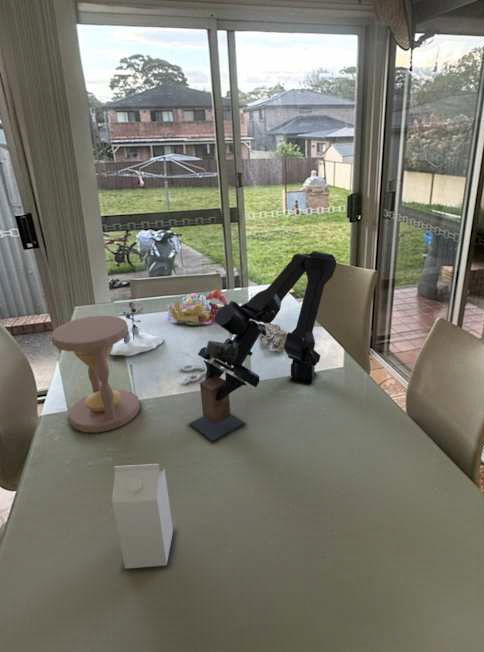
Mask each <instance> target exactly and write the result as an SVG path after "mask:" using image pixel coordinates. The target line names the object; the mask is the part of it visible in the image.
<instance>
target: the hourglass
mask: <svg viewBox="0 0 484 652" xmlns="http://www.w3.org/2000/svg"><path fill="white" fill-rule="evenodd" d="M128 331H129V326H128V323H127V321H126V320H125V319H123V318H122V317H119V316H114V315H93V316H85V317H81V318H76V319H73V320H70V321H67V322H65V323H63V324H61V325H59V326H57V327H56V328H55V329H54V330H53V331H52V332H51V343H52V345H53V346H54V347H55V348H57V349H58V350H61V351H65V352H73V354H74V355H75V357H77V358H78V359H79V360H80V361H81V362H83V364H85V365H86V366H87V367H88V368H87V376H88V379H89V382H90V384H91V389H92V393H90V394H88V395H86V396H84V397H83V398H81V399H79V400H77V401H76V402H75V403H74V404H73V405H72V407H71V408H70V410H69V412H68V420H69V423H70V425H71V426H72V428H74V429H75V430H78V431H79V432H83V433H93V434H95V433H97V434H98V433H103V432H109V431H111V430H115V429H117V428H120V427H122V426H124V425H125V424H127V423H129V422H131V421H132V420H133V419H134V418H135V417H136V416H137V415H138V412H139V410H140V407H141V405H140V400H139V397H138V395H136V394H135V393H134V392H132V391H130V390H126V389H118V388H117V389H116V388H112V387H111V385H110V383H109V377H110V368H109V364H108V361H107V360H108V359H109V357H110V355H111V354H110V353H111V351H112V349H113V344H115V343H117V342H119V341H120V340H122V339H123V338H124V337H125V336H126V335H127V333H128Z"/></svg>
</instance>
